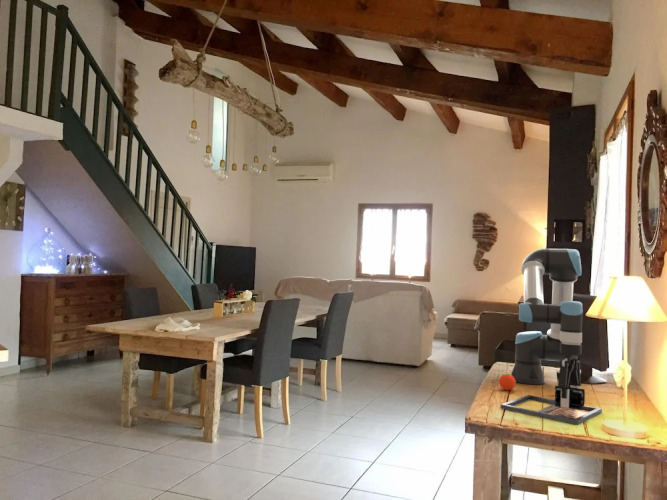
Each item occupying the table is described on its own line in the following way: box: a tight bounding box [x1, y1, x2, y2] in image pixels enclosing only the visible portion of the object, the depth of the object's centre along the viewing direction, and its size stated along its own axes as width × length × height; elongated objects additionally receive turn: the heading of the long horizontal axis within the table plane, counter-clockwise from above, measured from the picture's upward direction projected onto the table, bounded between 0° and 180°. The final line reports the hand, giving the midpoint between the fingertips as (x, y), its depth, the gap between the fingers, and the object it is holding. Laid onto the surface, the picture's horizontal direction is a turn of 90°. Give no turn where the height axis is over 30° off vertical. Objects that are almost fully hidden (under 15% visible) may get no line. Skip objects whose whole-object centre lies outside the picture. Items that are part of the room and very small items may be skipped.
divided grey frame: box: [500, 394, 603, 426], centre depth 213 cm, size 24×28×2 cm
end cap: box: [554, 385, 586, 410], centre depth 209 cm, size 10×7×7 cm
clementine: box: [498, 373, 517, 391], centre depth 247 cm, size 8×7×7 cm
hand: (569, 405), depth 209 cm, fingers closed on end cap, 8 cm apart
